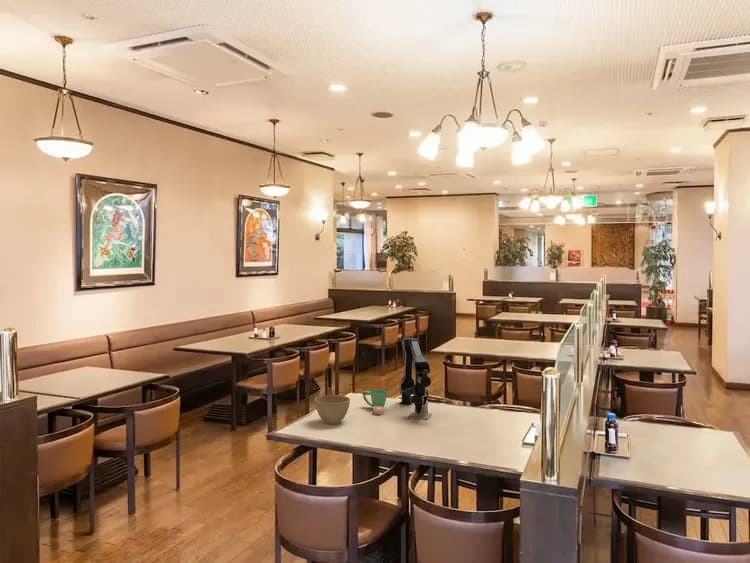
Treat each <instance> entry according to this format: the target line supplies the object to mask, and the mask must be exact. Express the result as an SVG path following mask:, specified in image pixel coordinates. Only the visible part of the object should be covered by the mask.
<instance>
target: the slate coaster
mask: <svg viewBox="0 0 750 563" xmlns="http://www.w3.org/2000/svg"><path fill="white" fill-rule="evenodd" d="M432 415H433V413H431V412H430V413H429V412H428V413H426V415H425V416H424V417H420V416H415V411H412V412H411V413H410V414H409V415H408V416H407V419H412V418H413V420H414V419H415V420H422V421H423V420H426V421H428V420H430V418H431V417H432Z"/></svg>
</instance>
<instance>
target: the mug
mask: <svg viewBox="0 0 750 563" xmlns="http://www.w3.org/2000/svg"><path fill="white" fill-rule="evenodd" d="M366 394H368V395H370V398H371V402H370V401H369V399H368V398H367V396H366ZM362 396H363V400H364V401H365V403H366V404H367V405H369V406H370V407H372V408H373V407H374V406H382V407H384V408H385V405H386V402H387V397H388V390H385V389H372V390H370V391H369V390H365V391H364V392H363V393H362Z"/></svg>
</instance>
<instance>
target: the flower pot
mask: <svg viewBox="0 0 750 563" xmlns="http://www.w3.org/2000/svg"><path fill="white" fill-rule="evenodd" d="M350 402H351V398H349V397H347V396H345V395H337V394H333V395H332V394H329V395H320V396H318V397H315V398H314V403H315V409H316V411H317V415H318V416H319V417H320V419H321V420H322V422H323V423H324V424H327V425H336V424H337V425H338V424H340V423H341V422H342V421H343V419H344V418H345V417H346V415H347V413H348V410H349V408H350V404H351V403H350Z"/></svg>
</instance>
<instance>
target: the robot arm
mask: <svg viewBox="0 0 750 563" xmlns="http://www.w3.org/2000/svg"><path fill="white" fill-rule="evenodd" d="M401 345H402V349H403V350H404V367H403V368H404V370H403V376H402V377H401V378H400V383H399V385H398V389H397V390H398V393H399V394H401V401H400V402H399V404H400V403H401V404H402V405H411V404H414V408H415V407H416V411H417V414H420V411H421V408H422V405H425V403H426V401H428V399H429V396H430V391H429V390H428V389H426V388H427V387H430V385H431V384H432V379H431V378H430V377H429V376H428V375H429V374H431V369H430V365H429V362H428V361H427V359H426V357H425V356H423V355H422V354H423V353H422V351H421V348H420V345H419V338H415V337H404V338H402V340H401ZM413 371H414V377H415V378H414V379H413V377H412V376H413ZM412 395H413V396H412ZM401 404H400V405H401Z"/></svg>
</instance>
